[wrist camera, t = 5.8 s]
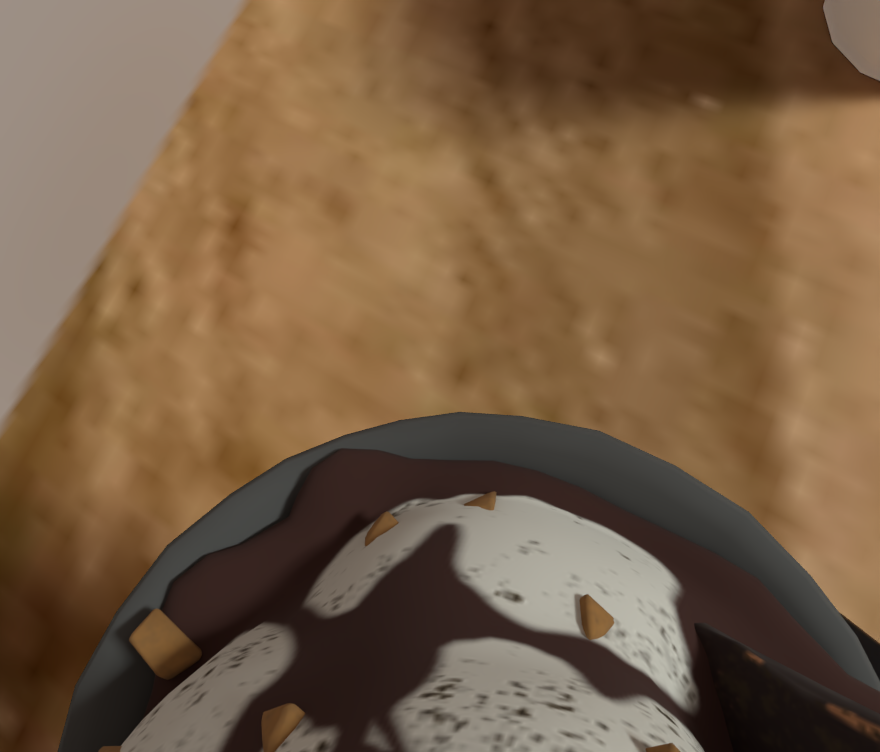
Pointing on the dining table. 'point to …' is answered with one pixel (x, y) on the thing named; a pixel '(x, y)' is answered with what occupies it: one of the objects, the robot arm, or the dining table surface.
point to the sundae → (476, 611)
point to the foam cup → (856, 32)
